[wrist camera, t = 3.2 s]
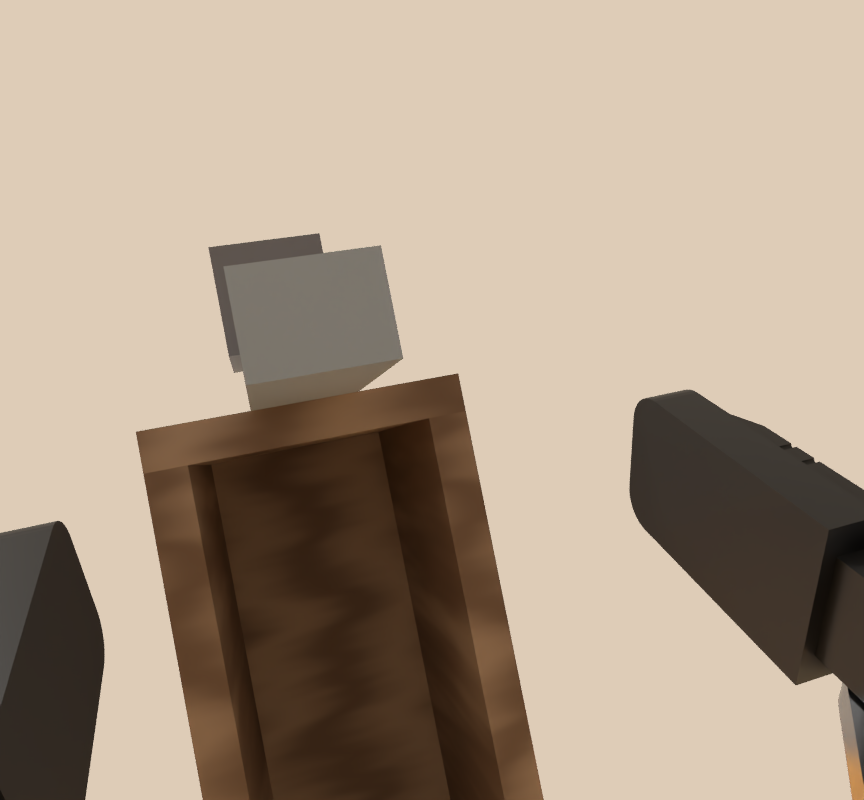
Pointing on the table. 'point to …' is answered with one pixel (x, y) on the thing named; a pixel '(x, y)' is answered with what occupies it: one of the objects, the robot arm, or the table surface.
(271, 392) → the gray l-shaped block
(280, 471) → the walnut stand
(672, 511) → the robot arm
